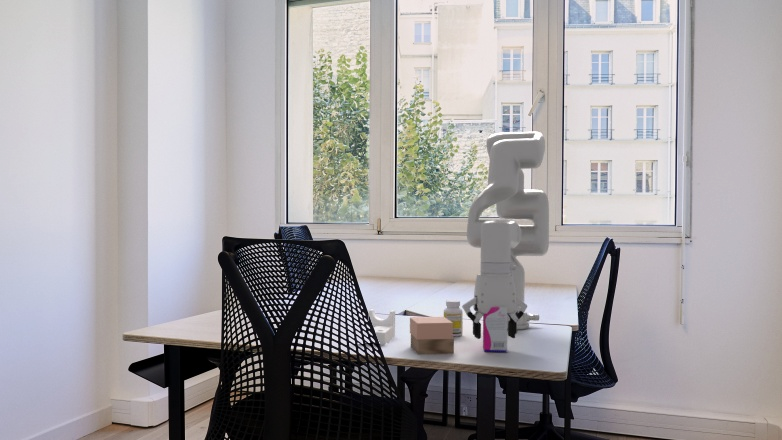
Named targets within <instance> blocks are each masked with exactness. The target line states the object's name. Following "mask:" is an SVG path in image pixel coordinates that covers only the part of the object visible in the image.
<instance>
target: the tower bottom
mask: <svg viewBox="0 0 782 440" xmlns="http://www.w3.org/2000/svg"><path fill="white" fill-rule="evenodd" d="M410 348H411V349H412V350H413V351H414V352H415V353H416V354H417V355H447V354H451V355H452V354H455V337H453V339H421V340H417V339H416V338H415V337H414V336H413V335H412V334H411V333H410Z"/></svg>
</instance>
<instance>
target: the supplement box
mask: <svg viewBox="0 0 782 440" xmlns="http://www.w3.org/2000/svg"><path fill="white" fill-rule="evenodd" d="M482 348H483V351H484V353H506V354H507V352H508V329H507V307H506V306H498V307H491V308H490V310H489V312H488V313H487V314H484V315H483V316H482Z"/></svg>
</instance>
